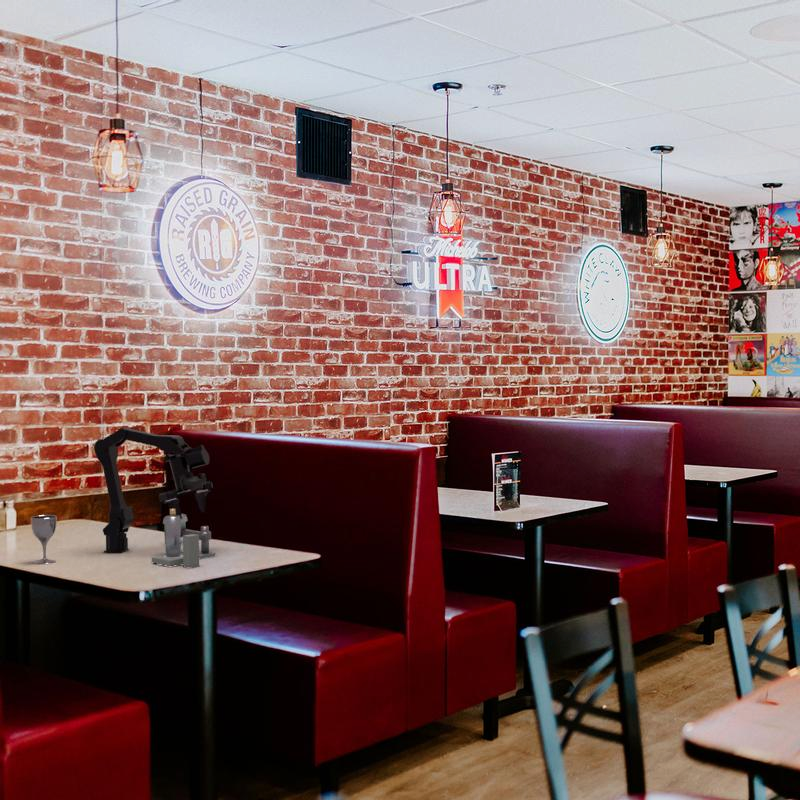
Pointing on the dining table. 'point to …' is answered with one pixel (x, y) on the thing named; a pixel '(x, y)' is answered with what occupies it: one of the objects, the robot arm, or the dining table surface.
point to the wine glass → (44, 532)
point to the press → (185, 553)
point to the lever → (200, 536)
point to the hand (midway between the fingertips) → (192, 515)
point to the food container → (182, 522)
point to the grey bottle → (172, 534)
